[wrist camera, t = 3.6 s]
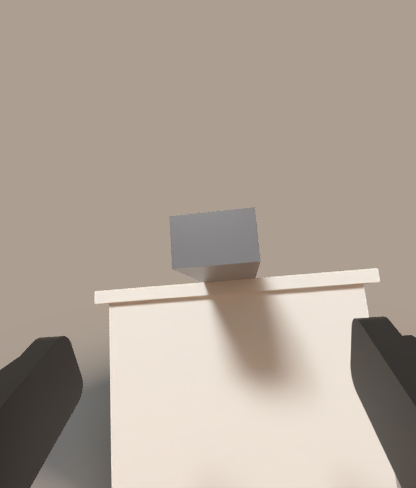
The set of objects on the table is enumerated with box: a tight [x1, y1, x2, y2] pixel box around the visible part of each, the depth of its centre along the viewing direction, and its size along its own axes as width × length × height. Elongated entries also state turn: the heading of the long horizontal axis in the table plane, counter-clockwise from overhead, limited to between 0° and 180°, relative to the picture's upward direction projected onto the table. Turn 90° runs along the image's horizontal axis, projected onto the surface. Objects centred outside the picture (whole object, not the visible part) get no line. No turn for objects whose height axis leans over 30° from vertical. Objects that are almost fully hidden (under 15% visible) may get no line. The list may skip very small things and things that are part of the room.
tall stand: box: [95, 268, 397, 488], centre depth 28 cm, size 22×14×32 cm, turn 83°
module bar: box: [170, 208, 260, 282], centre depth 26 cm, size 4×24×6 cm, turn 173°
